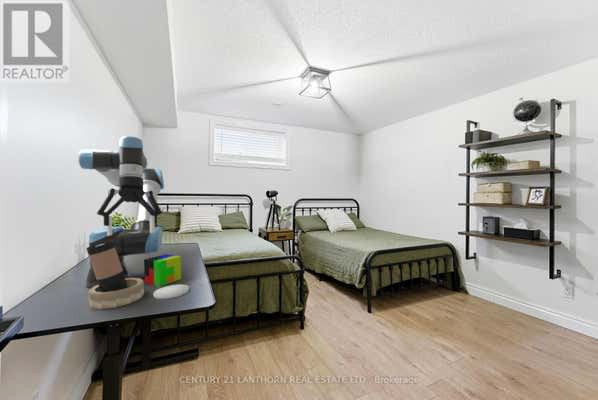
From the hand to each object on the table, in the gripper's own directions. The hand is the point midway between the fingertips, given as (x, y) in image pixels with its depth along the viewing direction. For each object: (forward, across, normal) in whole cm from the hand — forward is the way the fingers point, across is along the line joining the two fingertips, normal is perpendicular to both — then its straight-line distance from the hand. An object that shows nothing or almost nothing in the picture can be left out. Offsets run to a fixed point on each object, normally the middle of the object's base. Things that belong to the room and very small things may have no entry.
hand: (132, 234), depth 92 cm
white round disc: (+23, +11, -5) cm, 26 cm away
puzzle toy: (+20, +15, +12) cm, 28 cm away
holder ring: (+23, -3, +5) cm, 23 cm away
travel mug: (+22, -3, +5) cm, 23 cm away
